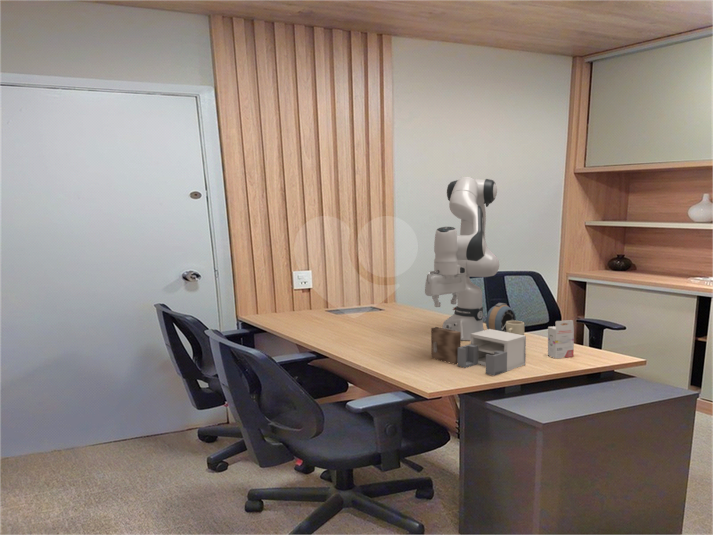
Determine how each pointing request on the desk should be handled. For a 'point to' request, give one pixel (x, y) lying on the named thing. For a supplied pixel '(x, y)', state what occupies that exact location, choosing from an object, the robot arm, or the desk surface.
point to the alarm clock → (499, 317)
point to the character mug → (515, 327)
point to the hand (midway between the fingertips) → (445, 305)
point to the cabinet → (494, 351)
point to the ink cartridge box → (561, 339)
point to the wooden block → (445, 344)
